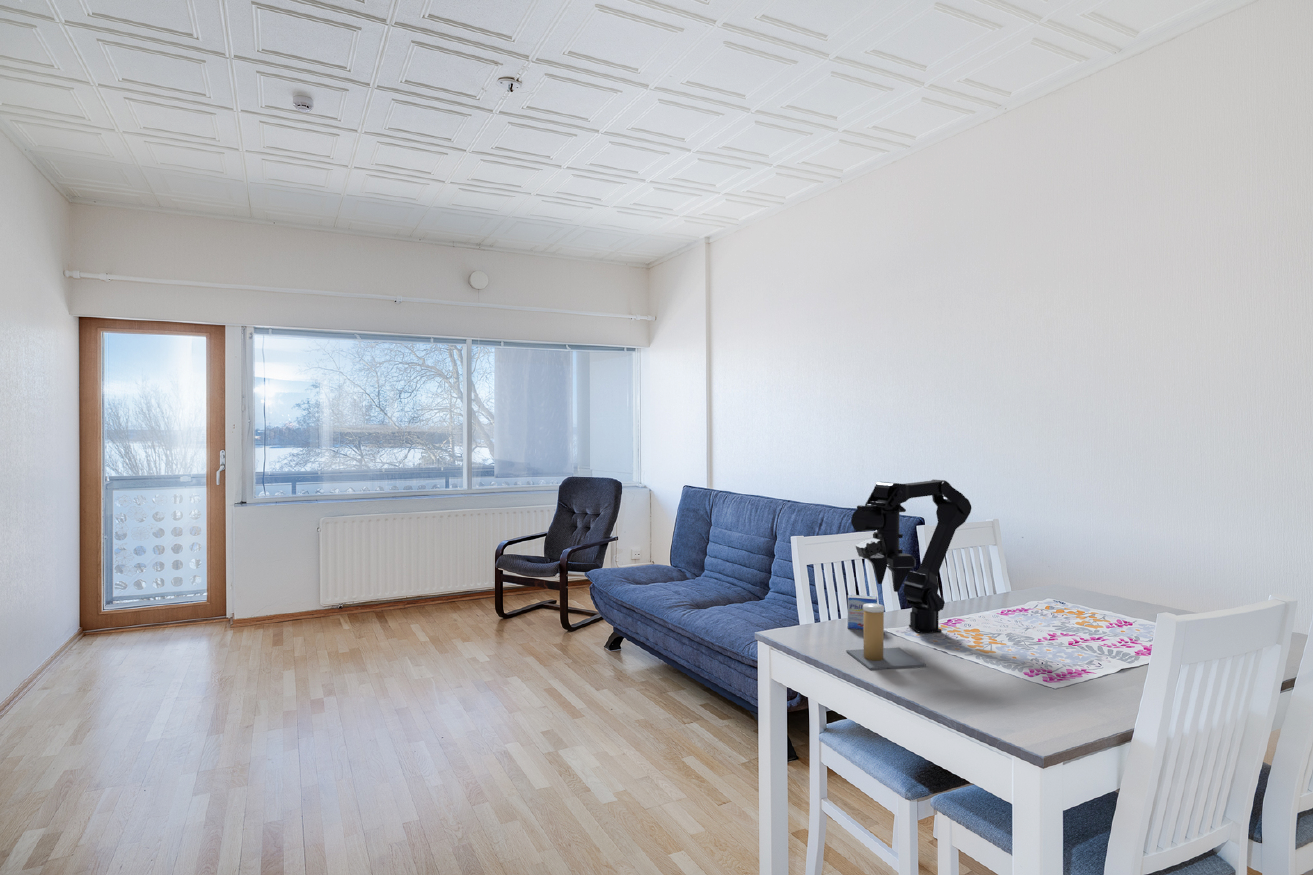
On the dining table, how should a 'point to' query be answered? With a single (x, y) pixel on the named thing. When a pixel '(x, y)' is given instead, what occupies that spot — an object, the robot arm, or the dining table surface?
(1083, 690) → the dining table surface
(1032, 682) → the dining table surface
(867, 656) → the pill bottle
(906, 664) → the rubber mat
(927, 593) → the robot arm
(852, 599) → the medicine box
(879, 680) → the dining table surface
